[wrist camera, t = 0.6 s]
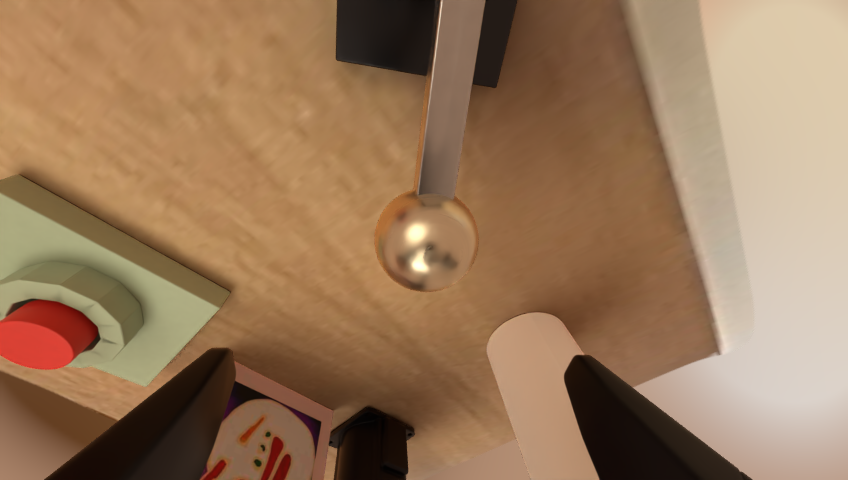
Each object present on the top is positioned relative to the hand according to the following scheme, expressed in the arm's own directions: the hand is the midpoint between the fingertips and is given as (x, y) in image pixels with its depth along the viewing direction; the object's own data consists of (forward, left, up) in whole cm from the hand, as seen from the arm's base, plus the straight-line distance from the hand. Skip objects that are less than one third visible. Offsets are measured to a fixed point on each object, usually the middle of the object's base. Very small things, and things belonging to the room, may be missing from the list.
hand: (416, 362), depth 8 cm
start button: (-18, +9, -10) cm, 23 cm away
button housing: (-18, +9, -13) cm, 24 cm away
